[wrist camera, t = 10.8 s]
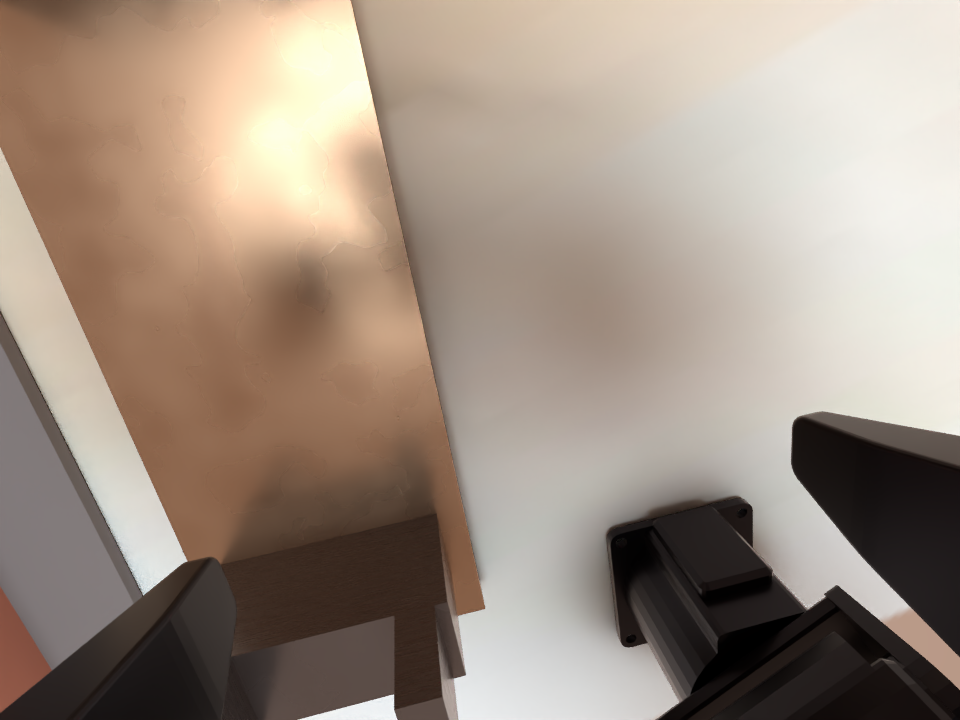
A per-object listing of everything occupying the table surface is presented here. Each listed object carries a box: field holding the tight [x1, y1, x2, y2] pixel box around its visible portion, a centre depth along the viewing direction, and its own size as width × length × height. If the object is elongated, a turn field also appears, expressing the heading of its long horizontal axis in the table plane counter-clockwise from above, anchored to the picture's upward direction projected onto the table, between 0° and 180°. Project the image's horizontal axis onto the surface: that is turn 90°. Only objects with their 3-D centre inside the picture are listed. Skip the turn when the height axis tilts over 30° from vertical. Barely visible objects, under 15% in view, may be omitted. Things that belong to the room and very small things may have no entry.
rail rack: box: [0, 0, 485, 720], centre depth 14 cm, size 28×10×9 cm, turn 10°
